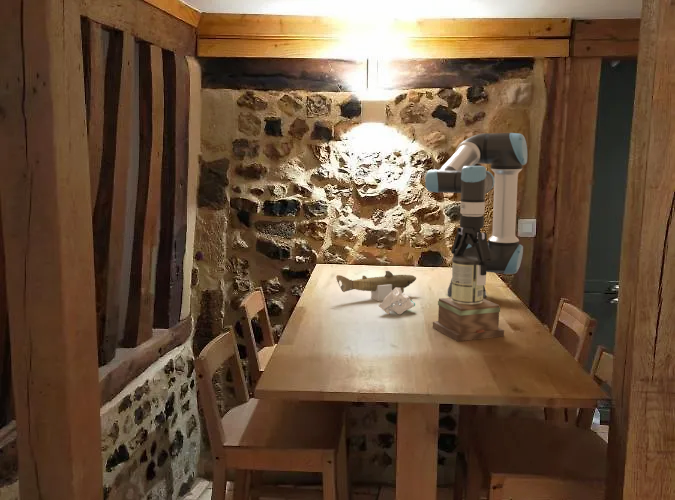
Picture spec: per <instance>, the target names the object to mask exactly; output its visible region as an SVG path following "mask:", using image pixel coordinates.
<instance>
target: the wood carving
mask: <svg viewBox="0 0 675 500" xmlns="http://www.w3.org/2000/svg"><path fill="white" fill-rule="evenodd" d="M335 279H336V280H337V281H336V282H337V284H338V286H339V288H340V289H341V291H342V292H343V293H345V292H349V291H352V290H357V291H361V292H362V291H363V292H364V291H365V292H370V293H371V294H370V298H371V299H373V300H375V301H377V302H383V301H384V298H385V297H386V296H387V295H388V294H389V293H390V292H391V291H392V290H393V289H394V288H395V287H397V288H401V291H402V293H403V294H404V291H405V288H407V287H409V286H410V285H412V284H413V283H414V282H415V281H417V276H414V275H411V274H393V273H392V272H391V271H389V270H385V275H382V276H375V277H367V276H366V275H362V277H361V278H359V279H353V280H352V279H350V278H347V277H345V276H343V275H340V274H337V275H336V277H335ZM340 282H341V285H340Z"/></svg>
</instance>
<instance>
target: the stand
mask: <svg viewBox="0 0 675 500" xmlns="http://www.w3.org/2000/svg"><path fill="white" fill-rule="evenodd" d="M451 299H452V297H442V298H438V301H437V305H438V316H437V318H438V320H437V321H436V320H435V321H434V320H433V321H432V328H433V329H435V330H437V332H440V333H442V334H444V335H445V336H447V337H449V338H451V339H452V340H454V341H455V340H456V341H455V342H463V341H464V340H465V341H472V339H474V340H481V338H483V339H489V338H499V337H505V330H504V328H501V327H500V326H499V325H500V312H501V307H500V305H499V304H497V303H494V302H492V301H490V300H488V299H485V298H483V303H481V304H476V305H465V304H458V303H454V302H452V301H451Z"/></svg>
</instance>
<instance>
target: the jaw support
mask: <svg viewBox="0 0 675 500" xmlns="http://www.w3.org/2000/svg"><path fill="white" fill-rule="evenodd" d="M378 307H379V308H381V310H382V311H384V312H385V313H386V314H387V315H390V314H391V313H390V312H395V313H396V314H397V315H401V314H403V313H404V312H405V311H408V310H410V309H412V308H414V307H416V302H413V301H412V300H411V298H410V296H408V295H407V294H405V293H404V292H403V293H402V291H401V288H397V287H395V288H394V289H393V290H392V291H391V292H390V293H389V294H388V295H387V296H386V297H385V298H384V301H381V302H380V304H378Z"/></svg>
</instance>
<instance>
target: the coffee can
mask: <svg viewBox="0 0 675 500" xmlns="http://www.w3.org/2000/svg"><path fill="white" fill-rule="evenodd" d="M451 261H452V268H451V269H452V270H451V271H452V272H451V274H452V277H451V279H452V297H451V298H452V299H451V301H452V302H454V303H458V304H465V305H476V304H481V303H483V299H484V298H483V285H479V286H478V285H477V267H478V263H479V261H478V259H477V257H475V256H457V257H453V256H452V259H451Z"/></svg>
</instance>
